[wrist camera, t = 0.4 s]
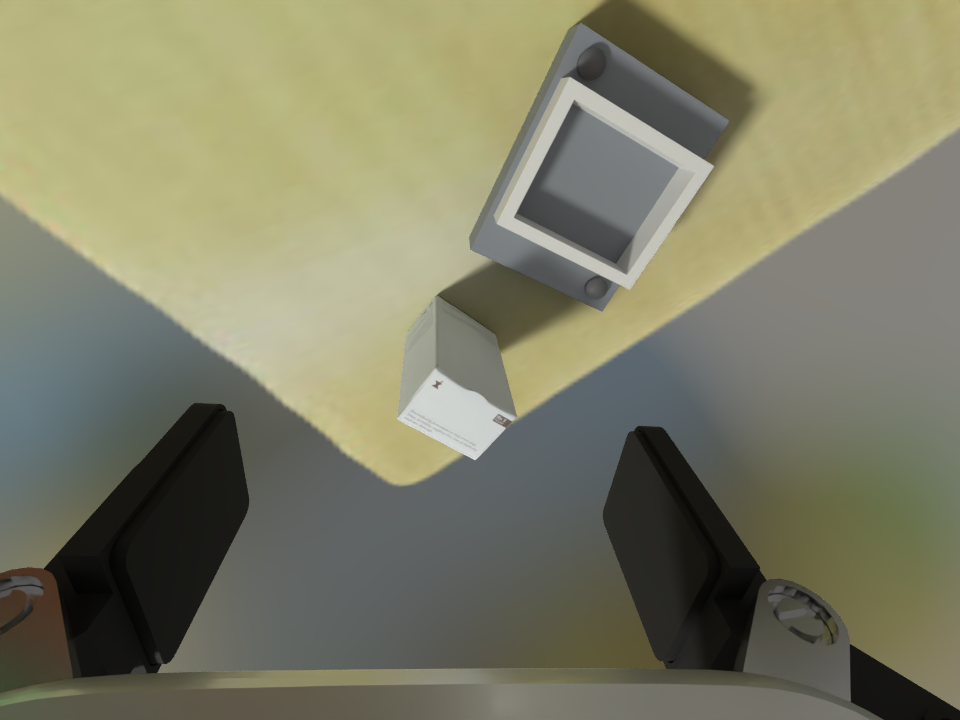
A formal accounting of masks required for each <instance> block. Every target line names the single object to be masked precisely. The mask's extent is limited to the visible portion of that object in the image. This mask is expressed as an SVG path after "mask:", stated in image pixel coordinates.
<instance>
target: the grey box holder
mask: <svg viewBox="0 0 960 720" xmlns="http://www.w3.org/2000/svg"><path fill="white" fill-rule="evenodd" d="M729 122H730V121H729V120H727V119H726V118H724V117H723V116H721V115H720V114H718V113H717V112H715V111H714V110H712V109H711V108H709V107H708V106H706V105H705V104H703V103H702V102H700V101H699V100H697V99H696V98H694V97H693V96H691V95H690V94H688V93H687V92H685V91H684V90H682V89H681V88H679V87H678V86H676V85H675V84H673V83H672V82H670V81H668V80H667V79H665V78H664V77H662V76H661V75H659V74H658V73H656V72H655V71H653V70H652V69H650V68H649V67H647V66H646V65H644V64H643V63H641V62H640V61H638V60H637V59H635V58H634V57H632V56H631V55H629V54H628V53H626V52H625V51H623V50H622V49H620V48H619V47H617V46H616V45H614V44H613V43H611V42H609V41H608V40H606V39H605V38H603V37H602V36H600V35H599V34H597V33H596V32H594V31H593V30H591V29H590V28H588V27H587V26H585V25H584V24H582V23H579V24H577V25H576V26H574V27H572V28H571V29H569V30H568V32H567V34H566V36H565V38H564V40H563V42H562V44H561V46H560V48H559V50H558V53H557V55H556V57H555V59H554V61H553V63H552V65H551V67H550V69H549V71H548V74H547V76H546V78H545V80H544V82H543V84H542V86H541V88H540V90H539V92H538V94H537V97H536V99H535V101H534V103H533V105H532V107H531V109H530V111H529V113H528V115H527V118H526V120H525V122H524V124H523V126H522V128H521V130H520V132H519V134H518V136H517V138H516V141H515V143H514V145H513V147H512V149H511V151H510V153H509V155H508V157H507V159H506V162H505V164H504V166H503V168H502V170H501V172H500V174H499V176H498V178H497V180H496V182H495V185H494V187H493V189H492V191H491V193H490V195H489V197H488V199H487V201H486V203H485V206H484V208H483V210H482V212H481V214H480V216H479V218H478V220H477V222H476V224H475V226H474V229H473V231H472V233H471V235H470V237H469V240H470V250H472V251H474V252H476V253H479V254H481V255H483V256H485V257H487V258H489V259H491V260H493V261H496V262H498V263H500V264H502V265H504V266H506V267H508V268H510V269H513V270H515V271H517V272H519V273H521V274H523V275H525V276H528V277H530V278H532V279H534V280H536V281H538V282H540V283H542V284H545V285H547V286H549V287H551V288H553V289H555V290H557V291H559V292H562V293H564V294H566V295H568V296H570V297H572V298H574V299H576V300H579V301H581V302H583V303H585V304H587V305H589V306H591V307H593V308H596V309H598V310H600V311H603V310H604V308H605V307H606V305H607V304H608V302H609V301H610V299H611V298H612V296H613V295H614V293H615V292H616V290H617V289H618V287H619V286H620V285H621V286H623V287H625V288H627V289H629V290H630V289H631V287H632V286H633V284H634V283H635V281H636V280H637V278H638V277H639V276H640V274H641V273H642V271H643V270H644V268H645V267H646V265H647V264H648V262H649V261H650V260H651V258H652V257H653V255H654V254H655V252H656V251H657V249H658V248H659V246H660V245H661V243H662V242H663V241H664V239H665V238H666V236H667V235H668V233H669V232H670V230H671V229H672V227H673V226H674V224H675V223H676V222H677V220H678V219H679V217H680V216H681V214H682V213H683V211H684V210H685V208H686V207H687V205H688V204H689V203H690V201H691V200H692V198H693V197H694V195H695V194H696V192H697V191H698V189H699V188H700V186H701V185H702V184H703V182H704V181H705V179H706V178H707V176H708V175H709V173H710V172H711V170H712V169H713V167H714V166H713V165H711V164H710V163H708V162H707V161H705V160H704V159H705V157H706V156H707V154H708V153H709V151H710V150H711V148H712V147H713V145H714V144H715V142H716V141H717V139H718V138H719V136H720V135H721V133H722V132H723V130H724V129H725V127H726V126H727V124H728V123H729Z"/></svg>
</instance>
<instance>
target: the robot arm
mask: <svg viewBox="0 0 960 720" xmlns="http://www.w3.org/2000/svg"><path fill="white" fill-rule="evenodd" d="M248 506H249V495H248V490H247V484H246V478H245V473H244V467H243V462H242V456H241V450H240V445H239V439H238V433H237V428H236V423H235V417H234V414H233V413H232V412H231V411H227V410H226V408H225V406H224V405H222V404H205V403H194V404H193V405H191V406H190V407H189V408H188V410H187V411H186V412H185V413H184V414H183V415H182V416H181V417H180V418H179V420H178V421H177V422H176V423H175V424H174V425H173V426H172V428H171V429H170V430H169V431H168V432H167V433H166V434H165V435H164V436H163V438H162V439H161V440H160V441H159V442H158V443H157V444H156V446H155V447H154V448H153V449H152V450H151V451H150V452H149V453H148V455H147V456H146V457H145V458H144V459H143V460H142V461H141V462H140V463H139V464H138V465H137V466H136V467H135V468H133V470H132V471H131V472H130V473H129V474H128V475H127V476H126V477H125V479H124V480H123V481H122V482H121V483H120V484H119V485H118V486H117V488H116V489H115V490H114V491H113V492H112V493H111V494H110V495H109V496H108V498H107V499H106V500H105V501H104V502H103V503H102V504H101V506H100V507H99V508H98V509H97V510H96V511H95V512H94V513H93V514H92V515H91V516H90V518H89V519H88V520H87V521H86V522H85V523H84V524H83V525H82V527H81V528H80V529H79V530H78V531H77V532H76V533H75V534H74V535H73V537H72V538H71V539H70V540H69V541H68V542H67V543H66V545H65V546H64V547H63V548H62V549H61V550H60V551H59V552H58V553H57V554H56V556H55V557H54V558H53V559H52V560H51V561H50V562H49V563H48V565H47V566H46V567H45V568H44V569H42V568H32V567H26V568H19V569H12V570H9V571H5V572H2V573H0V720H960V711H959V710H958V709H956V708H954V707H953V706H951V705H950V704H948V703H946V702H945V701H943V700H941V699H940V698H938V697H937V696H935V695H933V694H931V693H930V692H928V691H927V690H925V689H923V688H922V687H920V686H918V685H917V684H915V683H913V682H912V681H910V680H908V679H907V678H905V677H903V676H902V675H900V674H899V673H897V672H895V671H894V670H892V669H890V668H889V667H887V666H885V665H884V664H882V663H880V662H879V661H877V660H875V659H874V658H872V657H871V656H869V655H867V654H866V653H864V652H862V651H861V650H859V649H857V648H856V647H854V646H852V645H851V644H850V639H849V635H848V631H847V628H846V626H845V624H844V622H843V621H842V619H841V617H840V616H839V615H838V614H837V613H836V611H835V610H834V609H833V608H832V607H831V605H829V604H828V603H827V602H826V601H825V600H823V599H822V598H821V597H820V596H819V595H817V594H816V593H814V592H812V591H811V590H809V589H808V588H806V587H804V586H802V585H799V584H797V583H795V582H793V581H788V580H784V579H769V580H766V579H765V578H764V576H763V574H762V573H761V572H760V570H759V569H760V567H759V565H758V564H757V562H756V561H755V559H754V558H753V557H752V555H751V554H750V552H749V551H748V549H747V548H746V546H745V545H744V544H743V542H742V541H741V539H740V538H739V536H738V535H737V534H736V532H735V531H734V529H733V528H732V527H731V525H730V523H729V522H728V520H727V519H726V518H725V516H724V515H723V513H722V512H721V510H720V509H719V507H718V506H717V505H716V503H715V502H714V500H713V499H712V497H711V496H710V495H709V493H708V492H707V490H706V489H705V487H704V486H703V484H702V483H701V481H700V480H699V479H698V477H697V476H696V474H695V473H694V471H693V470H692V469H691V467H690V466H689V464H688V463H687V461H686V460H685V458H684V457H683V455H682V454H681V453H680V451H679V450H678V448H677V447H676V446H675V444H674V442H673V441H672V440H671V438H670V437H669V435H668V434H667V433H666V431H665V430H664V429H663V428H661V427H651V426H638V427H637V428H636V429H635V431H634V432H633V431H631V432H629V433H628V435H627V438H626V441H625V445H624V447H623V451H622V454H621V457H620V460H619V463H618V466H617V469H616V473H615V475H614V478H613V482H612V485H611V488H610V491H609V494H608V498H607V501H606V503H605V507H604V510H603V520H604V524H605V527H606V530H607V533H608V535H609V538H610V540H611V543H612V546H613V548H614V551H615V553H616V556H617V559H618V561H619V563H620V567H621V569H622V572H623V574H624V577H625V579H626V582H627V585H628V587H629V590H630V593H631V595H632V598H633V600H634V603H635V606H636V608H637V611H638V613H639V616H640V619H641V621H642V624H643V626H644V629H645V631H646V634H647V637H648V639H649V642H650V644H651V647H652V650H653V652H654V655H655V656H656V658H657V659H658V660H659V661H663V662H664V664H665V667H666V669H637V668H608V669H607V668H603V669H602V668H591V669H590V668H586V669H585V668H579V669H578V668H574V669H573V668H569V669H568V668H565V669H562V668H561V669H560V668H558V669H384V670H379V669H378V670H295V671H294V670H291V671H218V672H183V673H157V672H158V670H159V668H160V666H161V664H167V663H168V662H170V661H171V660H172V659H173V657H174V655H175V654H176V652H177V649H178V648H179V646H180V644H181V642H182V640H183V638H184V636H185V634H186V632H187V630H188V628H189V626H190V624H191V622H192V620H193V618H194V616H195V614H196V612H197V610H198V608H199V606H200V604H201V602H202V601H203V598H204V596H205V595H206V593H207V591H208V589H209V587H210V585H211V582H212V581H213V579H214V576H215V575H216V573H217V571H218V569H219V567H220V565H221V563H222V561H223V559H224V557H225V555H226V553H227V551H228V549H229V547H230V545H231V543H232V541H233V539H234V537H235V535H236V534H237V532H238V530H239V528H240V525H241V524H242V522H243V520H244V518H245V516H246V513H247V511H248Z"/></svg>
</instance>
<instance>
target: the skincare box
mask: <svg viewBox="0 0 960 720" xmlns="http://www.w3.org/2000/svg"><path fill="white" fill-rule="evenodd" d="M516 417H517V415H516V411H515V407H514V403H513V399H512V396H511V392H510V388H509V384H508V380H507V376H506V373H505V369H504V365H503V361H502V357H501V354H500V350H499V346H498V342H497V338H496V335H495V334H494V333H492V332H491V331H490V330H488V329H487V328H485V327H484V326H482V325H481V324H479V323H478V322H476V321H475V320H473V319H472V318H470V317H469V316H467V315H466V314H465V313H463V312H462V311H460V310H459V309H457V308H455V307H454V306H452V305H450V304H449V303H447V302H446V301H444V300H443V299H442V298H440V297H439V296H436V297H435V298H434V299H433V300H432V302H431V303H430V304H429V306H428V307H427V308H426V309H425V311H424V312H423V313H422V315H421V316H420V317H419V318H418V320H417V321H416V322H415V324H414V325H413V326H412V328H411V329H410V330H409V331H408V333H407V334H406V338H405V347H404V357H403V367H402V376H401V386H400V396H399V406H398V416H397V419H398V420H399V421H401V422H403V423H405V424H407V425H409V426H411V427H413V428H415V429H417V430H418V431H420V432H422V433H424V434H426V435H428V436H430V437H432V438H434V439H436V440H437V441H439V442H441V443H443V444H445V445H447V446H449V447H451V448H453V449H455V450H457V451H458V452H460V453H462V454H464V455H466V456H468V457H470V458H472V459H474V460H476V459H477V458H478V457H479V456H480V455H481V454H482V453H483V452H484V451H485V450H486V449H487V448H488V447H489V445H491V443H492V442H493V441H494V440H495V439H496V438H497V437H498V436H499V435H500V434H501V433H502V432H503V431H504V430H505V429H506V428H507V426H508V425H509V424H510V423H511V422H512V421H513V420H514V419H515V418H516Z"/></svg>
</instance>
